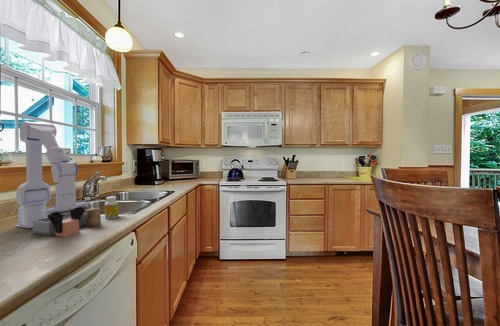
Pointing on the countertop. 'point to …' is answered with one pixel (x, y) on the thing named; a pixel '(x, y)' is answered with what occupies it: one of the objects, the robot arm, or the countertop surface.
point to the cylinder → (93, 217)
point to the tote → (47, 227)
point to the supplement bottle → (111, 208)
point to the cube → (69, 227)
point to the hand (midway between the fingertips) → (67, 230)
